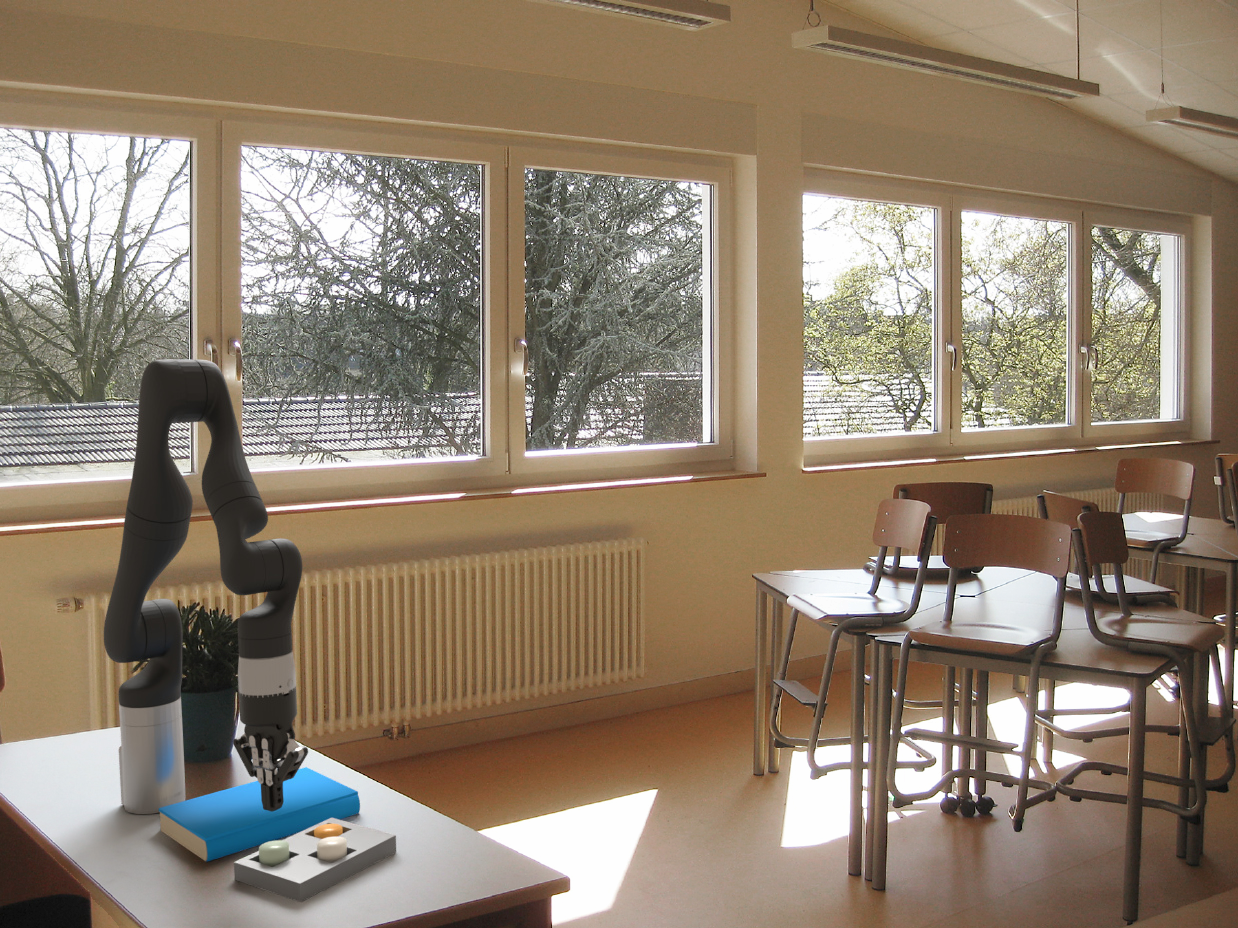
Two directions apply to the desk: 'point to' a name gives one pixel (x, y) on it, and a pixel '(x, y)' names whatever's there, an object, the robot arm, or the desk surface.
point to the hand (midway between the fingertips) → (272, 808)
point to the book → (255, 814)
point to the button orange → (328, 831)
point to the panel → (316, 861)
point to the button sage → (274, 853)
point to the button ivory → (331, 849)
